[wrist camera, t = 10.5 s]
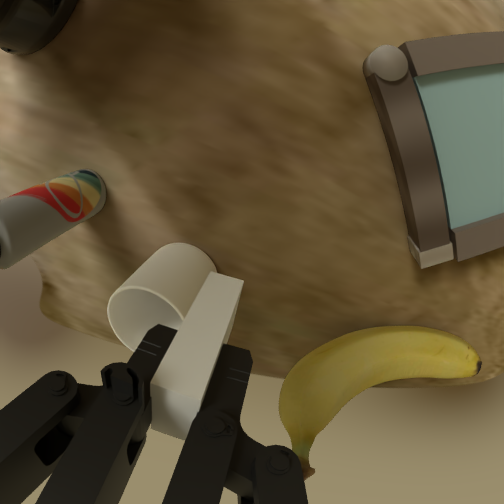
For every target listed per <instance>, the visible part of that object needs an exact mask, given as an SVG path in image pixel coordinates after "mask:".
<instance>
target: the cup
mask: <svg viewBox="0 0 504 504" xmlns="http://www.w3.org/2000/svg"><path fill="white" fill-rule="evenodd" d="M211 271H212V272H215V273H217V270H216V268H215V265H214V264H213V262H212V260H211V259H210V258H209V257H208V256H207V255H206V254H205V253H204V252H203V251H202V250H200V249H199V248H197V247H195V246H193V245H190V244H187V243H171V244H167V245H165V246H163V247H161V248H160V249H158V250H157V251H156V252H155V253H154V254H153V255H152V256H151V257H150V258H149V259H148V260H146V261H145V262H144V263H143V264H142V265H141V266H140V267H139V268H138V269H137V270H136V271H135V272H134V273H133V274H132V275H131V276H130V277H129V278H128V279H127V280H126V281H125V282H124V283H123V284H122V285H121V286H120V287H119V288H118V289H117V290H116V291H115V292H114V293H113V294H112V296H111V297H110V299H109V302H108V308H107V313H108V319H109V322H110V325H111V327H112V329H113V331H114V333H115V334H116V336H117V337H118V338H119V340H120V341H121V342H122V343H123V344H124V345H125V346H126V347H128V348H129V349H130V350H131V351H133V352H135V350H136V349H137V347H138V345H139V344H140V342H142V339H143V338H144V336H145V334H146V333H147V331H148V330H149V329H151V328H153V327H154V326H156V325H157V324H161V325H164V326H167V327H170V328H173V329H176V330H179V328H180V326H181V324H182V322H183V321H184V319H185V317H186V315H187V313H188V311H189V310H190V308H191V306H192V304H193V302H194V300H195V299H196V297H197V295H198V293H199V291H200V290H201V288H202V286H203V284H204V282H205V281H206V279H207V277H208V275H209V273H210V272H211Z"/></svg>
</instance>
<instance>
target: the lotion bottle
mask: <svg viewBox="0 0 504 504" xmlns="http://www.w3.org/2000/svg"><path fill="white" fill-rule="evenodd" d="M105 200H106V189H105V185H104V183H103V181H102V179H101V177H100V176H99V175H98V174H97V173H96V172H94V171H92V170H90V169H81V170H78V171H74V172H71V173H68V174H66V175H63V176H60V177H57V178H54V179H52V180H49V181H46V182H44V183H41V184H39V185H36V186H34V187H31V188H28V189H26V190H24V191H21V192H19V193H16V194H14V195H12V196H9V197H7V198H5V199H2V200H0V269H7V268H9V267H11V266H12V265H14V264H15V263H17V262H18V261H20V260H22V259H23V258H25V257H26V256H28V255H29V254H31V253H32V252H34V251H35V250H37V249H39V248H40V247H42V246H43V245H45V244H47V243H48V242H50V241H51V240H53V239H55V238H56V237H58V236H60V235H61V234H63V233H65V232H66V231H68V230H70V229H71V228H73V227H75V226H76V225H78V224H80V223H82V222H83V221H85V220H87V219H88V218H90V217H92V216H93V215H95V214H97V213H98V212H99V211H100V210H101V209H102V208H103V206H104V204H105Z"/></svg>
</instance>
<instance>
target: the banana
mask: <svg viewBox="0 0 504 504" xmlns="http://www.w3.org/2000/svg"><path fill="white" fill-rule="evenodd" d="M481 365H482V362H481V360H480V357H479V356H478V354H477V352H476V351H475V350H474V348H473V347H472V346H471V345H470V344H468V343H467V342H466V341H464V340H463V339H461V338H460V337H458V336H456V335H453V334H451V333H448V332H445V331H442V330H438V329H433V328H428V327H421V326H381V327H373V328H367V329H362V330H358V331H354V332H351V333H348V334H345V335H343V336H340V337H338V338H336V339H333V340H331V341H329V342H327V343H325V344H323V345H322V346H320V347H318V348H316V349H315V350H313V351H311V352H310V353H308V354H307V355H305V356H304V357H303V358H302V359H300V360H299V361H298V362H297V363H296V365H295V366H294V367H293V368H292V369H291V370H290V372H289V373H288V374H287V376H286V378H285V380H284V382H283V385H282V388H281V392H280V398H279V414H280V418H281V421H282V423H283V425H284V427H285V428H286V430H287V432H288V433H289V436H290V438H291V442H292V451H293V452H294V453H295V454H296V455H297V456H298V458H299V460H300V462H301V467H302V472H303V478H304V481H305V480H306V479H307V478H308V477H310V476H312V475H313V474H314V473H315V469H314V468H311V467H310V464H309V458H308V457H309V451H310V448H311V446H312V444H313V442H314V439H315V437H316V435H317V434H318V433H319V432H320V431H322V430H323V429H324V428H325V427H326V425H328V423H329V422H330V421H331V420H332V419H333V418H334V416H335V415H336V414H337V413H338V412H339V411H340V409H341V408H342V407H343V406H344V405H345V404H346V403H347V402H348V401H350V400H351V399H352V398H353V397H355V396H356V395H357V394H359V393H361V392H362V391H364V390H365V389H367V388H369V387H371V386H374V385H376V384H380V383H383V382H387V381H391V380H396V379H404V378H418V377H432V378H464V377H470V376H475V375H476V374H478V373H479V371H480V368H481Z"/></svg>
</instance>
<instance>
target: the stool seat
mask: <svg viewBox="0 0 504 504" xmlns="http://www.w3.org/2000/svg"><path fill="white" fill-rule="evenodd" d="M398 49H400V50H401V51H402V52H403V53H404V55H405V56H406V58H407V61H408V68H409V71H410V74H411V76H412V79H413V82H414V85H415V88H416V91H417V94H418V97H419V100H420V103H421V106H422V110H423V113H424V116H425V120H426V123H427V127H428V131H429V134H430V138H431V142H432V146H433V150H434V155H435V159H436V163H437V168H438V173H439V177H440V182H441V188H442V193H443V199H444V205H445V211H446V217H447V224H448V232H449V240H450V242H451V243H452V247H453V257H454V258H455V259H456V260H457V261H458V262H459V261H463V260H466V259H469V258H472V257H475V256H477V255H480V254H483V253H486V252H489V251H492V250H495V249H498V248H500V247H503V246H504V32H483V33H470V34H459V35H450V36H442V37H434V38H427V39H421V40H415V41H409V42H405V43H403V44H402V45H401V46H399V47H398Z"/></svg>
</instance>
